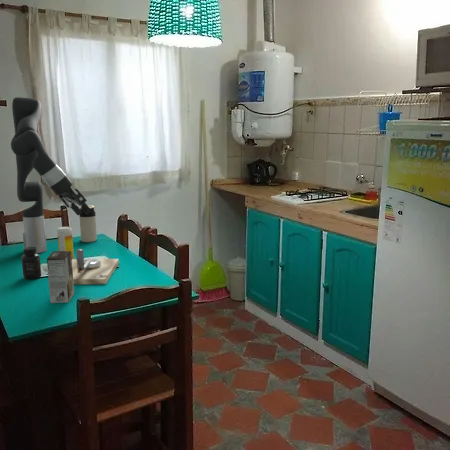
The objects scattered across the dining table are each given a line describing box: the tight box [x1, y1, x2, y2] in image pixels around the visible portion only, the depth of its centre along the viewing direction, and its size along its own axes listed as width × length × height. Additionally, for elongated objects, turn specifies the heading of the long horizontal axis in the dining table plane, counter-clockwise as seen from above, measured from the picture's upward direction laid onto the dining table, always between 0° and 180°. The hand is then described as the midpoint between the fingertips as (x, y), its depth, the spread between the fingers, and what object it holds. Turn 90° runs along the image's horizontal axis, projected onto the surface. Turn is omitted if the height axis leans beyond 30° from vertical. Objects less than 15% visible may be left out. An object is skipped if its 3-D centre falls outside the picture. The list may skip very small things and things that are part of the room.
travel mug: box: [78, 204, 98, 243], centre depth 245 cm, size 8×8×18 cm
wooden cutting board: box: [72, 258, 120, 285], centre depth 194 cm, size 20×27×2 cm
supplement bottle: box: [20, 247, 42, 281], centre depth 188 cm, size 7×7×12 cm
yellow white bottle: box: [57, 226, 75, 259], centre depth 210 cm, size 6×6×15 cm
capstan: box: [75, 248, 101, 273], centre depth 190 cm, size 21×9×10 cm, turn 2°
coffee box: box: [46, 250, 75, 304], centre depth 166 cm, size 9×6×16 cm
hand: (84, 213), depth 184 cm, fingers open, 8 cm apart
